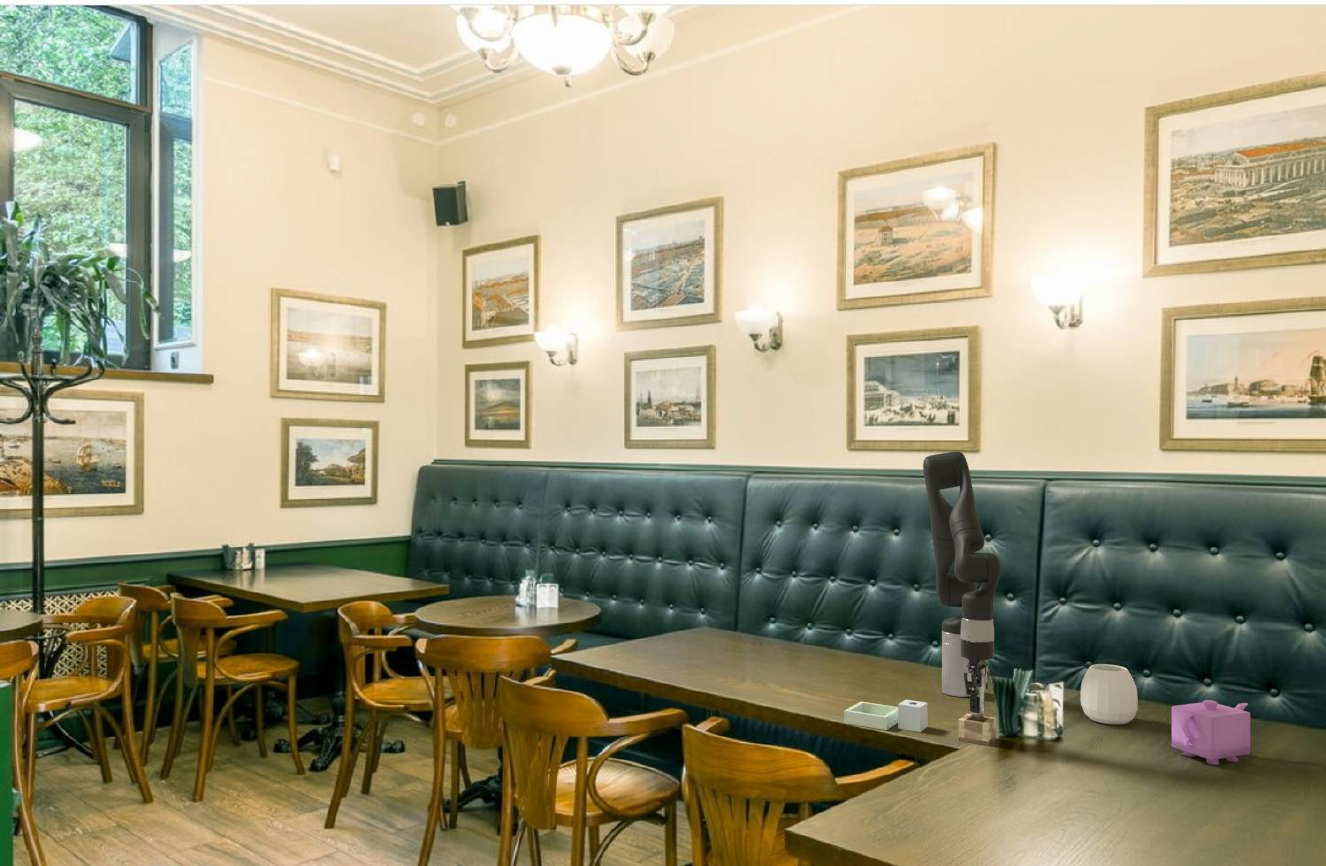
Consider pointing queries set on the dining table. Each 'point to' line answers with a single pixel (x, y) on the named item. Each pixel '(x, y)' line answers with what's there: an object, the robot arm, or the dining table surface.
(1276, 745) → the dining table surface
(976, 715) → the cylinder
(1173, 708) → the teapot
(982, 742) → the oak block
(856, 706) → the tray
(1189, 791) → the dining table surface
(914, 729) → the white cube
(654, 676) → the dining table surface
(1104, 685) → the white vase
